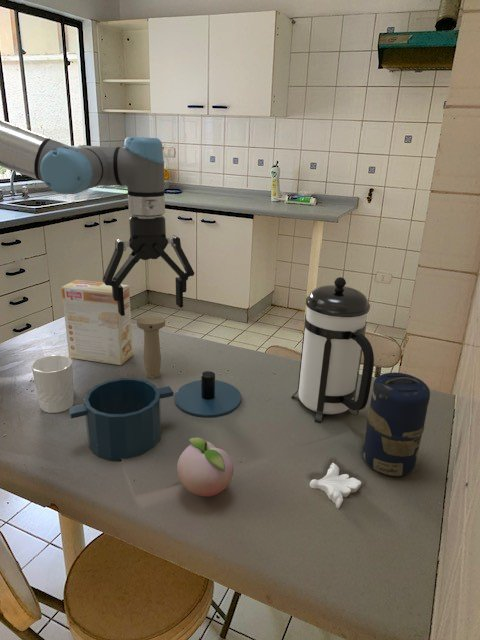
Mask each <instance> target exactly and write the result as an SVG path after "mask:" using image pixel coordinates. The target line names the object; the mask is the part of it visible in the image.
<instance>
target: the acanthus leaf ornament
mask: <svg viewBox="0 0 480 640" xmlns="http://www.w3.org/2000/svg"><path fill="white" fill-rule="evenodd" d="M361 485H362V481H361V480H359V479H357V478H355V477H350V475H349V474H348V473H344V474H343V473H342V474H340V468H339V466H338V465H337V464H336V463H334V462H332V463H331V464H330V466H329V468H328V469H327V472H326V475H324V476H323V477H322V478H320V479H315V478H313V479H311V480H310V482H309V487H310V488H311V489H315V490H321V491H323V492H324V493H325V494H326V495H327V498H328V500H330V501H332V503H333V504H335V507H336V509H338V510H339V509H341V506H342V505H343V503H344V502H343V501H344V498H347V497H348V496H349V495H350V494H352V493H356V492H357V491H358V490H359V489H360V487H361Z"/></svg>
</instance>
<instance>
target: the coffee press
mask: <svg viewBox="0 0 480 640" xmlns="http://www.w3.org/2000/svg"><path fill="white" fill-rule="evenodd" d="M333 283H334V284H326V285H321V286H318V287H316V288H313V290H311V292H310V293H309V295H308V296H306V298H305V306H306V313H305V315H304V321H303V323H304V324H303V325H304V326H303V334H302V343H301V353H300V364H299V371H298V372H299V374H298V383H297V389H296V391H295V392H294V393H293V394H292V395H291V400H293V398H294V397H295V396H296V395H297V394H298V399H297V401H300V403H302V405H304V406H305V408H307V409H309V410H311V411H313V412H315V417H314V423H318V424H322V420H323V418H324V415H337V414H338V415H339V414H342V413H345V412H346V411H348V412H349V413H350V414H351V415H352V416H355V417H356V416H358V415H359V413H360V411H361V410H363V409H365V407H366V406H367V404H368V401H369V398H370V393H371V392H370V391H371V386H372V380H373V374H374V367H375V366H374V365H375V356H374V350H373V347H372V344H371V342H370V340H369V339H368V338H367V337H366V330H367V324H368V323H367V316H368V313H370V310H371V304H370V303H369V301H368V298H367V296H366V295H365V294H364V293H363V292H362V291H361V290H358V289H357V288H354V287H350V286H346V285H347V282H346V279H345V278H344V277H342V276H341V277H339V276H338V277H337V278H335V280H334V282H333ZM362 356H363V357H362ZM362 358H363V365H362V372H361V378H360V384H359V385H360V386H359V391H358V397H357V400H356V396H357V389H358V382H359V377H360V370H361V364H362Z"/></svg>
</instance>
